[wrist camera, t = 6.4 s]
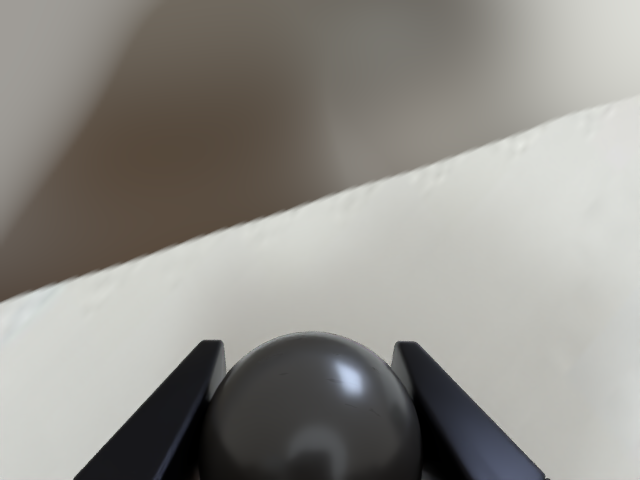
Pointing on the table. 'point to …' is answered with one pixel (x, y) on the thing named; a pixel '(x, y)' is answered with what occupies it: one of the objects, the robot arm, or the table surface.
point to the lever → (311, 415)
